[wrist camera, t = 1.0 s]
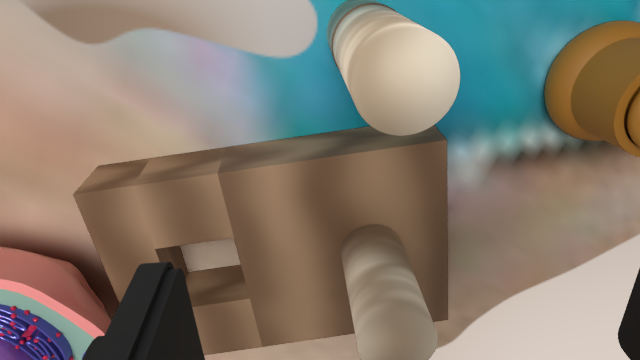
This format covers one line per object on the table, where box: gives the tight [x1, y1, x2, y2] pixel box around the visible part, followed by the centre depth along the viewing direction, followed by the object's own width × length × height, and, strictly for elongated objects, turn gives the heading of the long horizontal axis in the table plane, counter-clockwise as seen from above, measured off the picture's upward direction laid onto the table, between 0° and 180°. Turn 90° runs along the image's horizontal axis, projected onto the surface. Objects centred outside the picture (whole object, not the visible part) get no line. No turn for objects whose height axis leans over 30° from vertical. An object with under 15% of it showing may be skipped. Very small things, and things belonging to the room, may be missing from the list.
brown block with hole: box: [73, 125, 448, 360], centre depth 28 cm, size 22×14×12 cm, turn 97°
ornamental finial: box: [544, 20, 640, 157], centre depth 26 cm, size 8×8×8 cm
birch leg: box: [327, 0, 460, 136], centre depth 22 cm, size 4×4×12 cm
